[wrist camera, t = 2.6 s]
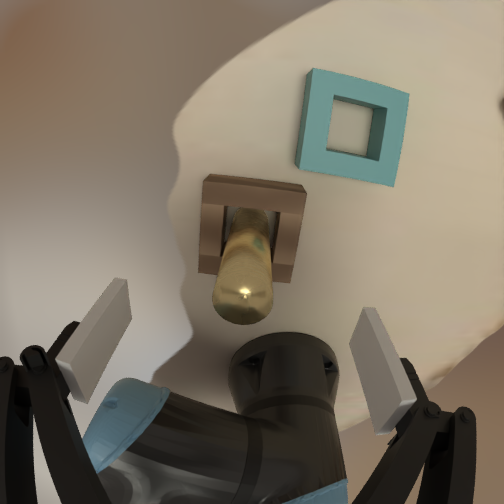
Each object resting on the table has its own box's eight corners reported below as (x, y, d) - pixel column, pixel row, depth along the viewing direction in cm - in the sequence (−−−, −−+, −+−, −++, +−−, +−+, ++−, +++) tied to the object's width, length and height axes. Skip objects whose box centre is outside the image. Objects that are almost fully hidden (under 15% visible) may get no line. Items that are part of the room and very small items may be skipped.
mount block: (287, 266, 32) (290, 283, 29) (204, 256, 32) (198, 272, 29) (301, 185, 28) (307, 193, 25) (209, 174, 28) (203, 181, 25)
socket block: (380, 179, 28) (393, 187, 25) (294, 163, 28) (299, 169, 24) (393, 95, 24) (409, 93, 21) (307, 74, 24) (313, 67, 21)
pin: (266, 240, 31) (268, 327, 18) (231, 236, 31) (211, 321, 18) (270, 207, 29) (277, 278, 17) (234, 203, 29) (213, 271, 17)
